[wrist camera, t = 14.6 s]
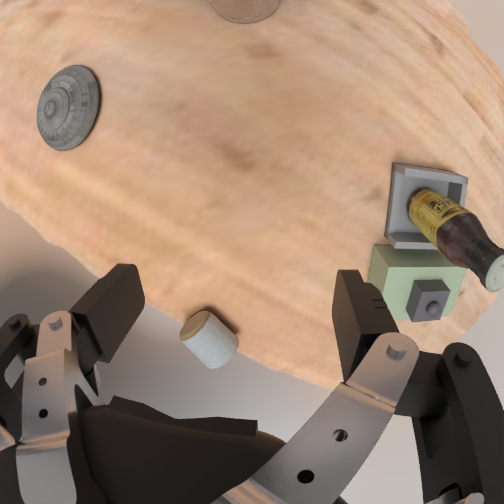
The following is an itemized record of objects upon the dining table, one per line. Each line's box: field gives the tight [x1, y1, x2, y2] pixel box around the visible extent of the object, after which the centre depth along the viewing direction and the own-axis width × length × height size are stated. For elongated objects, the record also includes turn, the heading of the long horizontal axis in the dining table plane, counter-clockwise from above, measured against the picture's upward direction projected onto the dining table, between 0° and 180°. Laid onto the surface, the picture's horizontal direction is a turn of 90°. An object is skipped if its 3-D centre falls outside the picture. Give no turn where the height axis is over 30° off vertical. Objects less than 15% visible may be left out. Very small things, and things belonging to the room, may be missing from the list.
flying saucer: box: [37, 65, 99, 151], centre depth 31 cm, size 15×15×6 cm
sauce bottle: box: [407, 188, 504, 292], centre depth 25 cm, size 7×6×20 cm
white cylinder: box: [180, 311, 239, 369], centre depth 46 cm, size 11×8×8 cm
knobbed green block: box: [367, 163, 468, 322], centre depth 32 cm, size 22×14×11 cm, turn 2°
